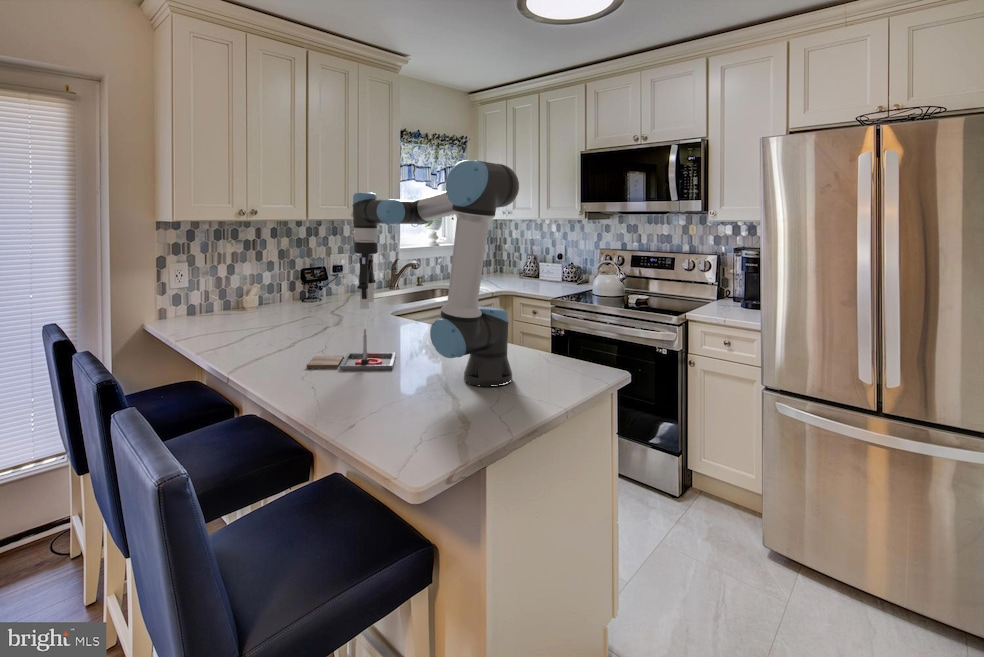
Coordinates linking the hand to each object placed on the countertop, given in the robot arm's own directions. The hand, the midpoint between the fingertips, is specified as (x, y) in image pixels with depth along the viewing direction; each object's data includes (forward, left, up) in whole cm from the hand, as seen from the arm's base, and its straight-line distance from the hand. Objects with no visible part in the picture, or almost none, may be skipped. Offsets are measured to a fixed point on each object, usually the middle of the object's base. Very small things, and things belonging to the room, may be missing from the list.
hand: (367, 305), depth 175 cm
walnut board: (0, +14, -20) cm, 25 cm away
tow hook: (0, 0, -21) cm, 21 cm away
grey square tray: (0, 0, -20) cm, 20 cm away
